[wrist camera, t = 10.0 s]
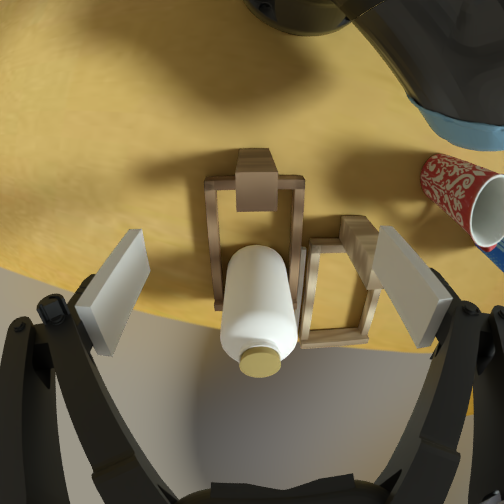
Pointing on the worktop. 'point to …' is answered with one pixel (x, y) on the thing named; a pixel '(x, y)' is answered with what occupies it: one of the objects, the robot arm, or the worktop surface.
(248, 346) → the potion bottle
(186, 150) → the worktop surface
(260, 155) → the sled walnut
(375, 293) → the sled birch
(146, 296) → the worktop surface
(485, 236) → the mug
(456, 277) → the worktop surface
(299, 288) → the lane divider
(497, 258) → the beer can
